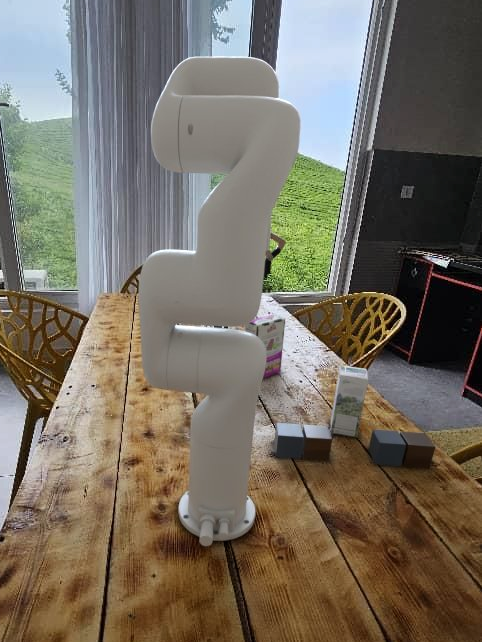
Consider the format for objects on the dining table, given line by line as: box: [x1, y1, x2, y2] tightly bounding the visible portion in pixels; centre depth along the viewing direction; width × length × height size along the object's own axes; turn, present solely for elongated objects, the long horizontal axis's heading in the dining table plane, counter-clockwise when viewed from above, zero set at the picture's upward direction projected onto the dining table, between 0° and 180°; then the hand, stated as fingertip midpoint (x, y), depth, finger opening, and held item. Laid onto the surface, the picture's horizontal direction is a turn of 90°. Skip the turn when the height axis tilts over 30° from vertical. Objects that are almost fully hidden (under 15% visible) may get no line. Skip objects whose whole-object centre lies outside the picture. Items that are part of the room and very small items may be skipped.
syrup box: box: [330, 365, 369, 439], centre depth 96 cm, size 6×6×14 cm
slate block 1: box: [273, 422, 304, 459], centre depth 90 cm, size 5×5×5 cm
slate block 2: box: [367, 429, 406, 467], centre depth 89 cm, size 5×5×5 cm
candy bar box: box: [244, 314, 286, 379], centre depth 123 cm, size 11×5×16 cm, turn 129°
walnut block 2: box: [399, 431, 436, 469], centre depth 88 cm, size 5×5×5 cm
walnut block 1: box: [301, 424, 333, 462], centre depth 89 cm, size 5×5×5 cm
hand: (244, 276), depth 102 cm, fingers open, 9 cm apart
